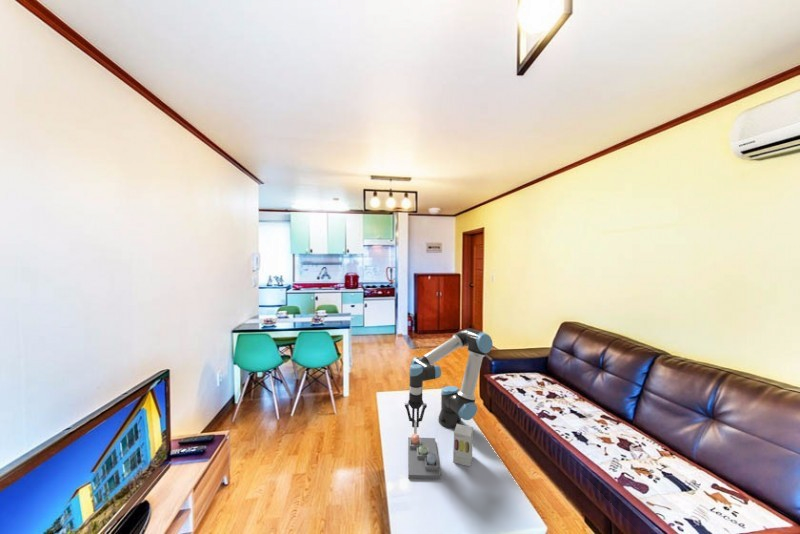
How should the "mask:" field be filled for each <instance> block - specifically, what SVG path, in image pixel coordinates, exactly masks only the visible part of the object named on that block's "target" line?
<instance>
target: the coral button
mask: <svg viewBox="0 0 800 534" xmlns="http://www.w3.org/2000/svg"><path fill="white" fill-rule="evenodd" d="M419 438H420V435H419V434H414V433H413V434H412V435H411V443H412V444H414V445H417V444H419Z"/></svg>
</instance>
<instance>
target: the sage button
mask: <svg viewBox="0 0 800 534" xmlns="http://www.w3.org/2000/svg"><path fill="white" fill-rule="evenodd" d="M419 455H427V447H426V446H424V445H421V446H419Z"/></svg>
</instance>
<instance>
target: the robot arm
mask: <svg viewBox="0 0 800 534" xmlns="http://www.w3.org/2000/svg"><path fill="white" fill-rule="evenodd" d="M463 347H467V352H468V357H467V361H466V366H465V369H464V373H463V379H462V382H461V386H460V388H459V387H457V386H453V385H449V386H447V385H446V386H444V387H442V389H441V393H440V394H441V395H440V396H441V398H440V400H441V401H440V405H441V407H440V408H441V409H440V412H439V415H438V423H439V425H441V426H442V427H444V428H448V429H455V428H456V425H457V424H460V425H462V420H464V421H470V420H472V419H473V418H475V416H476V415H477V412H478V406H477V404H476V397H475V393H476V389H477V383H478V379H479V374H480V371H481V367H482V362H483V358H484V357H485V356H486V357H487V354H488V353H490V351H492V349H493V339H492V338H491V336H490V335H489V334H488V333H485V332H483V331H479V330H477V329H473V328H465V329H462V330H460V331H458V332H456V333H454V334H453V335H452V337H451V338H449V339H448V340H446V341H444V342H443V343H442V344H441V343H440V344H439V345H438V346H437V347H435V348H433V349H431V350H430V351H428V352H427V353H425V354H423V355H422V356H421V357H419V356H415V357H413V358H412V360H411V362H410V366H409V372H408V373H409V375H408V376H409V391H408V394H409V395H408V401H407V402H404V407H405V409H406V414H407V417H408V421H409V422H411V427H412V428H413V434H417V432H418V430H417V429H418V428H419V427H420V422H422V421H423V418H424V414H425V411H426V409H427V407H428V405H427V403H425V402H424V400H423V387H424V386H423V385H424V383H423V382H426V381H427V382H428V381H431V380H432V381H433V380H436V379H439V378H440V377H441V376H442V370H441V367H440V366H439V365H438V364H435V363H437V362H439V361H440V360H441V359H443V358H445V357H446V356H448V355H449V354H451V353H453V352H454V351H456V350H458V349H459V348H460V349H461V348H463ZM421 407H422V408H421ZM410 408H411V410H412V411H410ZM420 408H421V411H420ZM415 410H416V419H415ZM411 412H412V414H411ZM420 412H421V413H420ZM417 435H418V434H417Z"/></svg>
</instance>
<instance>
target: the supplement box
mask: <svg viewBox="0 0 800 534" xmlns="http://www.w3.org/2000/svg"><path fill="white" fill-rule="evenodd" d="M473 428H474V427H473V426H468V425H465V424H461V425H460V424H457V425H456V428H454V433H453V451H452V452H453V453H452V454H453V455H452V457H453V458H452V463H455V464H459V465H463V466H466V467H471V465H472V460H473V441H474V440H473V439H474V438H473V437H474V429H473Z"/></svg>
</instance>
